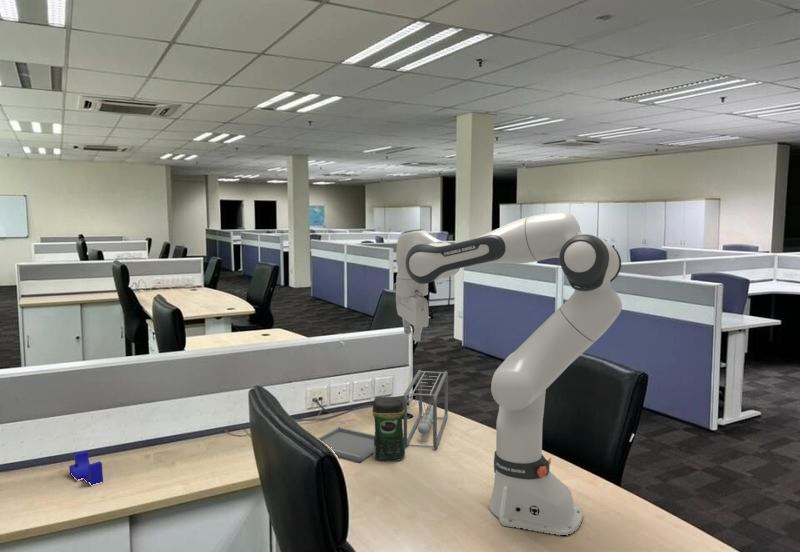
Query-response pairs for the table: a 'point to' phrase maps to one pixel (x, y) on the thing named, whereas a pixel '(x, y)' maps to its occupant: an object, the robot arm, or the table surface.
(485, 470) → the table surface
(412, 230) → the robot arm
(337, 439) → the shallow gray tray
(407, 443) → the newton's cradle
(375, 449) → the coffee jar
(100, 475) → the cable clip
